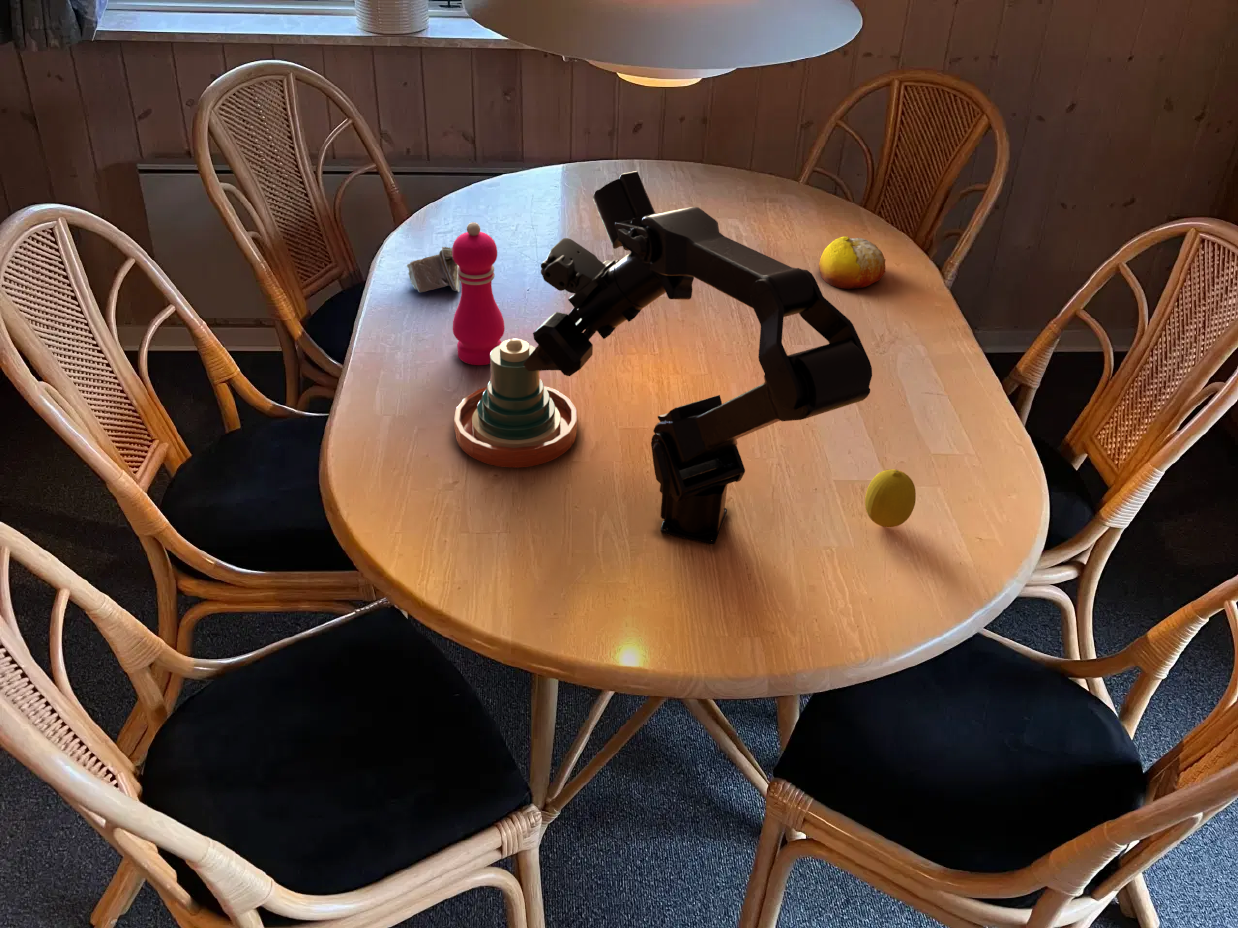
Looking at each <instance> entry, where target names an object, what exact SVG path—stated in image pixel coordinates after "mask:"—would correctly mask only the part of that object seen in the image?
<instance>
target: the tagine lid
mask: <svg viewBox="0 0 1238 928" xmlns="http://www.w3.org/2000/svg"><path fill="white" fill-rule="evenodd" d="M535 349H536V347H535V346H533V345H531V344H529V343H528V341H526V340H524V339H521V338H509V339H506V340H503V341H501V344H500V345H499V346H497V347H495V348H494V349H493V350H492V351H491V353H490V364H489V366H490V368H489V369H490V380H489V381H488V383H487V386H486V387H487V389H486V390H485V391H484V393H483V396H482V399H481V400H480V402H479V403H478V406H477V409H476V410H475V412H474V414H473V416H472V426H473V432H474V434H475V436H476V437H477V438H478V439H479V440H480V441H481V442H484V443H487V444H490V445H493V446H500V447H510V448H519V447H528V446H536V445H539V444H542V443H545V442H548V441H551V440H553V439H554V438H555V437H556V436H557V435H558V433H559V431H560V428H561V416H560V413H559V411H558V409H557V408H556V407H555V404H554V402H553V400H552V399H551V398H550V396H549V393H548V391H547V390H546V388H545V387H544V386H545V385H544V382H543V380H542V379H541V372H540V371H528V370H527V369H526V368H525V366H524V365H523V363H524V362H525V361H526V360H527V358H528V357H529V356H530V355H531V353H532V352H533V351H534V350H535Z"/></svg>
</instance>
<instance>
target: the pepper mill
mask: <svg viewBox="0 0 1238 928" xmlns="http://www.w3.org/2000/svg"><path fill="white" fill-rule="evenodd" d="M451 248H452V256H453V259H454V261H455V263H456V264H457V265H458V267H457V272H458V274H457V277H458V279H459V282H460V287H461V288H460V289H461V290H460V291H461V292H460V298H459V302H458V305H457V307H456V309H455V313H454V316H453V319H452V333H453V336H454V337H455V339H456V340H457V344H456V347H457V357H458V358H459V360H460V361H462V362H464V363H465V364H468V365H471V366H486V365H490V353H491V351H492V350H493V349H494V348H495V347H497V346H499V345H500V344H501V343H502V340H501V338H502V337H503V336H504V334H505V330H506V327H505V319H504V316H503V314H502V312H501V310H500V308H499V306H498V304H497V302H496V300H495V297H494V294H493V287H492V285H493V284H492V282H493V280H494V279H495V277H496V276H495V266H494V264H495V263H496V261H497V259H498V248H497V244H496V241H495V240H494V239H493V238H492V237H491V236H490V235H489V234H488V233H486V232H483V231H481V226H480V224H479V223H478V222H475V221H471V222H470V223H468V224H467V226H466V232H463V233H461V234H460V235H459V236H457V237H456V239H454V241H453V243H452V247H451Z"/></svg>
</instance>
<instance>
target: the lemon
mask: <svg viewBox="0 0 1238 928" xmlns="http://www.w3.org/2000/svg"><path fill="white" fill-rule="evenodd" d="M916 497H917V495H916V486H915V483H914V481H913V479H912V478H911V477H910V476H909V475H908V474H907V473H905V472H904V471H902V470H899V469H894V468H893V469H892V468H891V469H885V470H881V471H880V472H878V473H877V474H876V475H874V477H873V478H872V479H871V481H870V482H869V484H868V486H867V488H866V492H865V496H864V506H865V507H864V508H865V511H866V513H867V516H868V517H869V519H870V520H872V522H873V523H875V524H876V525H878V526H880V527H882V528H896V527H898V526H901V525H903V524H904V523H905V522H906V521H908V520H909V519H910V517H911V516H912V514H913V511H914V509H915V506H916V500H917V499H916Z"/></svg>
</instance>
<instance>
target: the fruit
mask: <svg viewBox="0 0 1238 928" xmlns="http://www.w3.org/2000/svg"><path fill="white" fill-rule="evenodd" d="M818 269H819V275H820V277H821V279H822V280H823V281H824V282H825V283H826V284H828V285H830V286H832V287H835V288H838V289H843V290H850V289H851V290H852V289H859V288H861V289H863V288H867V287H868V286H870V285H872V284H874V283H877V282H878V281H880V280H881V279H882V277H883V276H884V275H885V273H886V259H885V256H884V254H883V251H882V250H881V249H879V247H878V246H877V244H875V243H873V242H872V241H869V240H868V239H866V238H863V237H854V238H852V237H849V236H846V235H845V236H841V237H840V236H839V237H838V238H836V239H834V240H833V241H832V242H830V243H829V244H828V245H827V246H826V247H825V248H824V249H823V251H822V254H821V256H820V259H819V264H818Z"/></svg>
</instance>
